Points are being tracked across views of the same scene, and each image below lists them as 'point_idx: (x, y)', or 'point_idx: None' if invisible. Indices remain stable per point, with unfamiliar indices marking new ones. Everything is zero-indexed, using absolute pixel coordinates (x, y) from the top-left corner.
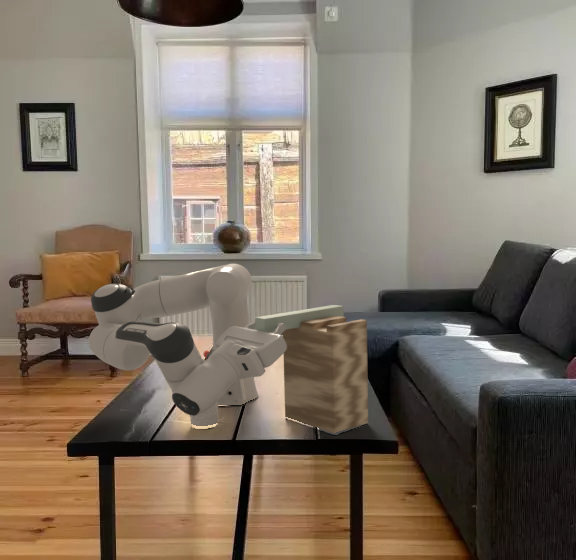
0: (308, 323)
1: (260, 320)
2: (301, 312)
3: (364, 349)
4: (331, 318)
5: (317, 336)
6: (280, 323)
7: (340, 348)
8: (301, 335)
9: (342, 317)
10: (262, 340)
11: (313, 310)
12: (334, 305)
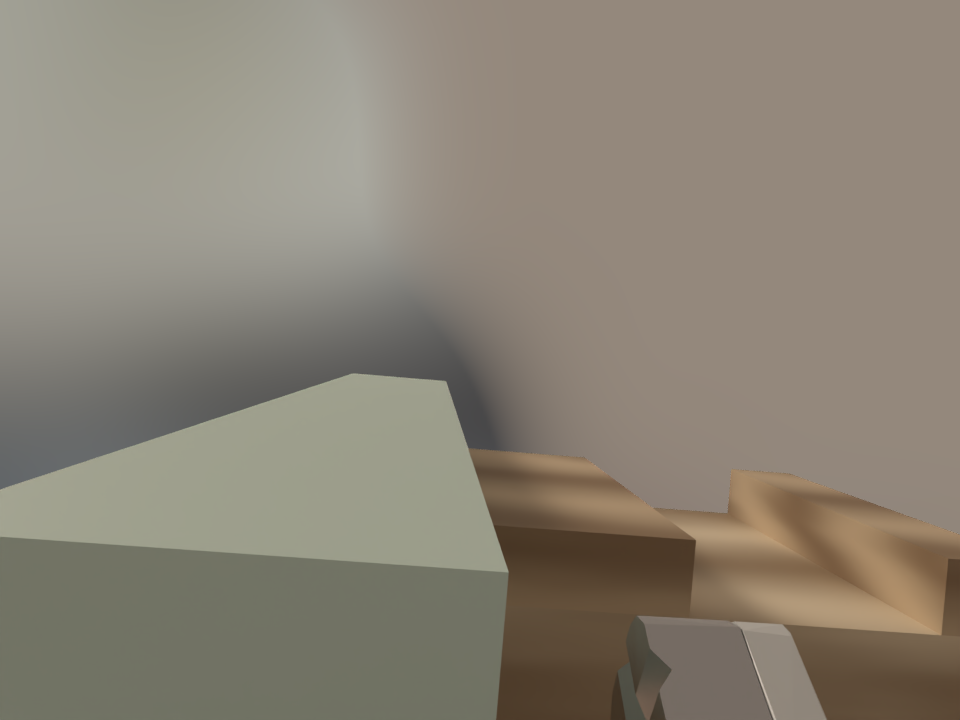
0: (628, 543)
1: (250, 647)
2: (432, 408)
3: None
4: (555, 471)
5: None
6: (716, 633)
7: None
8: None
9: (575, 460)
10: None
11: (430, 396)
12: (376, 376)
